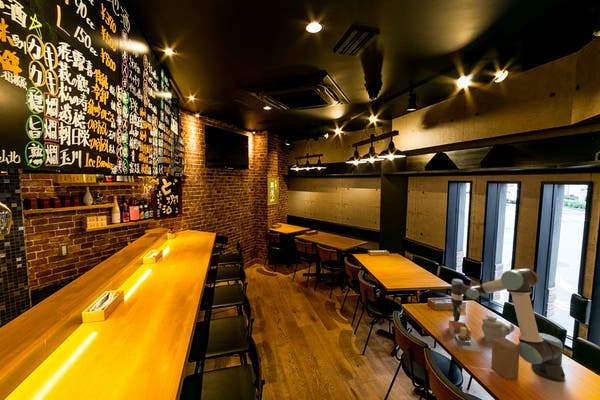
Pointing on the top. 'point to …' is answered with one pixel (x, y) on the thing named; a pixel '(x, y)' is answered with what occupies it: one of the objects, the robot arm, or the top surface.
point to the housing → (458, 328)
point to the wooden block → (505, 357)
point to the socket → (462, 340)
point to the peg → (463, 333)
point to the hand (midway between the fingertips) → (455, 326)
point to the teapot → (495, 328)
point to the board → (471, 347)
